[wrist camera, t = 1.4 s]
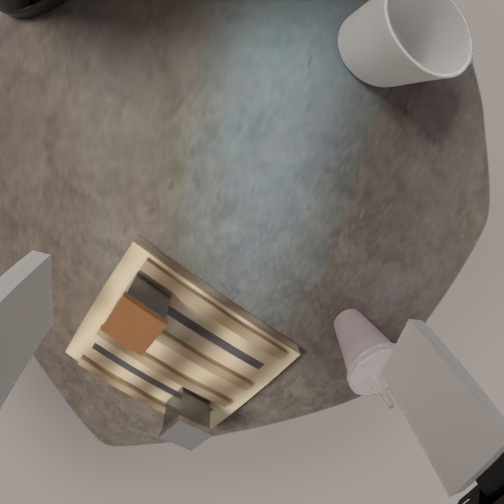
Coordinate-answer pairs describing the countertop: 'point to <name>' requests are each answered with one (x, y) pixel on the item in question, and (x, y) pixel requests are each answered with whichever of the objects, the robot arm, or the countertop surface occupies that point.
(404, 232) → the countertop surface
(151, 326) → the block
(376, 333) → the smoothie
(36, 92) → the countertop surface
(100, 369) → the beige flat board
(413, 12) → the mug
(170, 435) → the fader
